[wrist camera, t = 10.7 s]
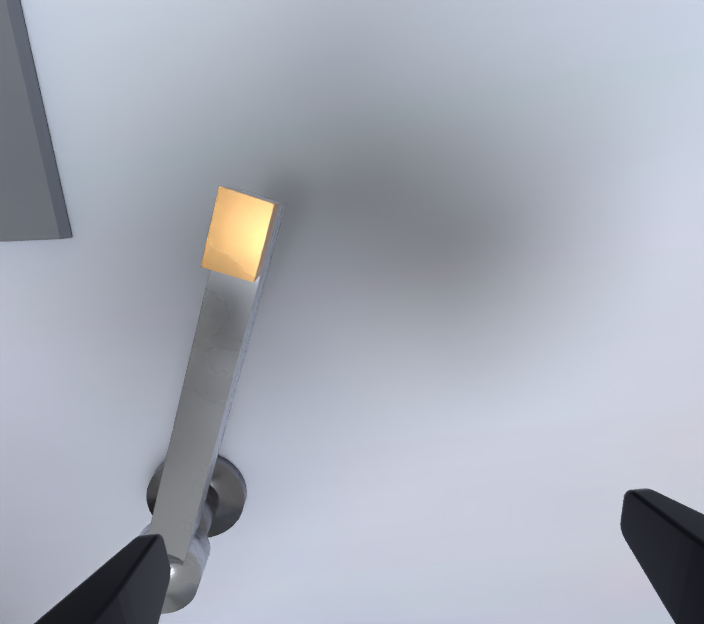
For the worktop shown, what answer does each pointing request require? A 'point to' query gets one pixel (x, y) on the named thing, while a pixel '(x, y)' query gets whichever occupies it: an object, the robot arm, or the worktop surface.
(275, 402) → the worktop surface
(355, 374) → the worktop surface
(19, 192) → the socket
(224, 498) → the grey flanged disc
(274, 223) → the bar
